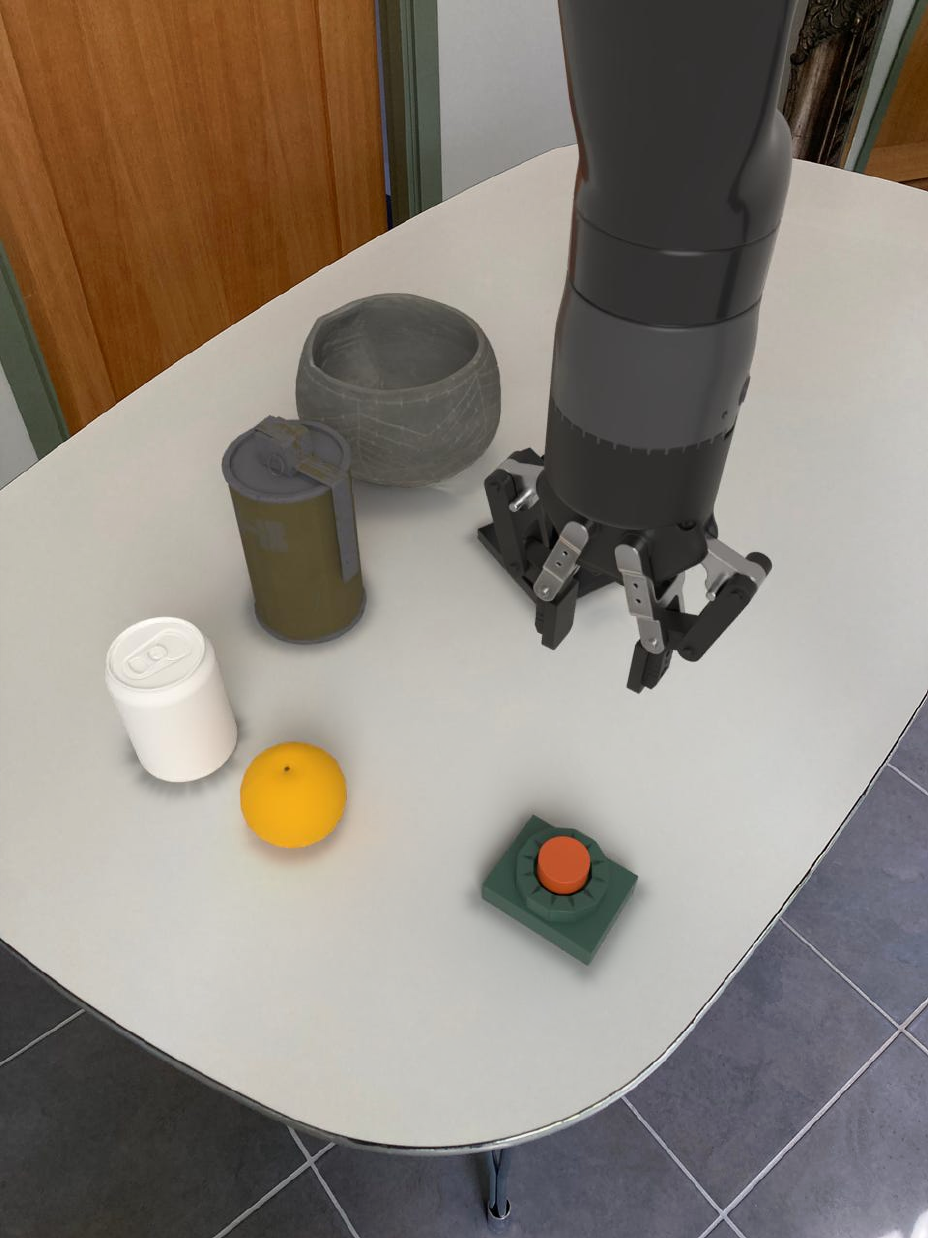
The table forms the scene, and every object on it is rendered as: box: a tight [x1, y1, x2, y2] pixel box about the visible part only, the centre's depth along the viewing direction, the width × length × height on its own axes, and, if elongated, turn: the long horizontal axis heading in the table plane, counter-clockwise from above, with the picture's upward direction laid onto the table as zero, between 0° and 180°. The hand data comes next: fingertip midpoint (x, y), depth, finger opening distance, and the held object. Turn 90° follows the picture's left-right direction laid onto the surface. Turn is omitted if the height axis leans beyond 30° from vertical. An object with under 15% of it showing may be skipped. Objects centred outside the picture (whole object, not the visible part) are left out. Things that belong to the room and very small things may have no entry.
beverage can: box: [103, 616, 238, 783], centre depth 75 cm, size 8×8×12 cm
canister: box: [220, 414, 367, 645], centre depth 83 cm, size 11×10×20 cm
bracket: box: [477, 446, 615, 605], centre depth 90 cm, size 12×9×13 cm
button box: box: [481, 814, 639, 967], centre depth 69 cm, size 9×7×4 cm
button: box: [537, 836, 590, 894], centre depth 67 cm, size 4×4×2 cm
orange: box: [239, 741, 348, 849], centre depth 72 cm, size 8×8×8 cm
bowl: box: [294, 292, 502, 488], centre depth 99 cm, size 21×21×15 cm
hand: (598, 658), depth 50 cm, fingers open, 4 cm apart
